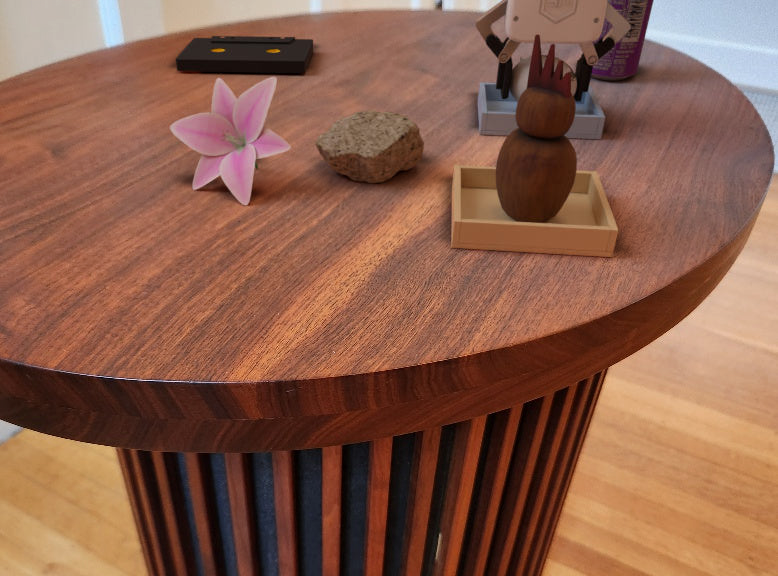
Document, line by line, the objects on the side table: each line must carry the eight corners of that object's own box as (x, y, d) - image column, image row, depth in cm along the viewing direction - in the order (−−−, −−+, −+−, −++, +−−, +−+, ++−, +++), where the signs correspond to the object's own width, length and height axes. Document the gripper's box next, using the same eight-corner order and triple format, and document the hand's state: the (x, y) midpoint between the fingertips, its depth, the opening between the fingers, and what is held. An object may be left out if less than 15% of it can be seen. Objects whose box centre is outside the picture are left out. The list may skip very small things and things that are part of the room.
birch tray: (591, 196, 74) (597, 171, 72) (612, 257, 64) (618, 230, 63) (451, 189, 75) (454, 164, 74) (451, 248, 66) (454, 221, 64)
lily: (172, 175, 82) (140, 111, 73) (261, 113, 83) (239, 43, 74) (235, 246, 77) (208, 186, 68) (328, 178, 78) (313, 111, 69)
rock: (368, 117, 84) (405, 68, 77) (410, 181, 83) (451, 138, 76) (297, 142, 79) (330, 92, 72) (340, 211, 78) (378, 167, 71)
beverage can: (641, 72, 105) (664, -26, 98) (627, 86, 100) (651, -16, 93) (588, 64, 108) (607, -31, 101) (573, 78, 103) (592, -21, 96)
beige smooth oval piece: (580, 117, 90) (592, 57, 86) (554, 130, 86) (565, 68, 82) (520, 102, 94) (529, 44, 90) (493, 114, 91) (501, 55, 87)
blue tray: (587, 106, 94) (591, 85, 93) (600, 139, 85) (605, 117, 84) (477, 102, 96) (479, 82, 94) (479, 134, 87) (482, 112, 86)
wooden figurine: (479, 205, 71) (502, 32, 62) (533, 195, 73) (562, 25, 64) (520, 236, 66) (551, 53, 57) (577, 225, 68) (616, 45, 59)
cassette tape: (313, 52, 115) (313, 37, 114) (304, 75, 106) (304, 59, 105) (195, 50, 117) (193, 35, 115) (176, 73, 108) (174, 57, 106)
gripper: (482, -75, 76) (463, 104, 87) (666, -74, 74) (623, 110, 85) (480, -85, 82) (463, 84, 93) (650, -84, 80) (613, 89, 91)
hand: (540, 95), depth 89 cm, fingers closed on beige smooth oval piece, 7 cm apart
